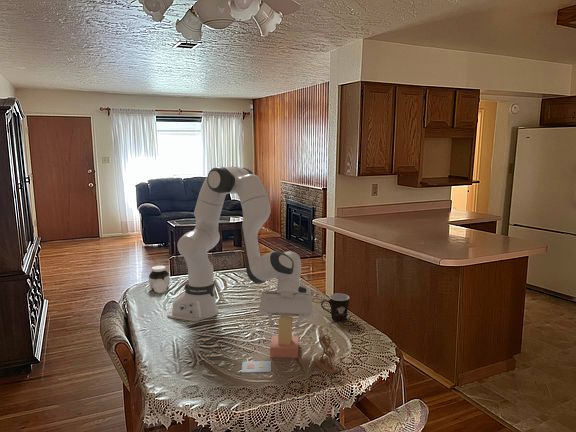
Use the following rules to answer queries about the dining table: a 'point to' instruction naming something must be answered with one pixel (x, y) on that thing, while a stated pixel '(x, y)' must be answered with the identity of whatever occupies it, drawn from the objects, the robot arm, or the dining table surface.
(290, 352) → the base brick
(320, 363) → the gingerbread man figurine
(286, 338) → the ochre brick
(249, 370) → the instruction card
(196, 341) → the dining table surface
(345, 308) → the coffee mug
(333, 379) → the dining table surface
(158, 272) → the spread jar
